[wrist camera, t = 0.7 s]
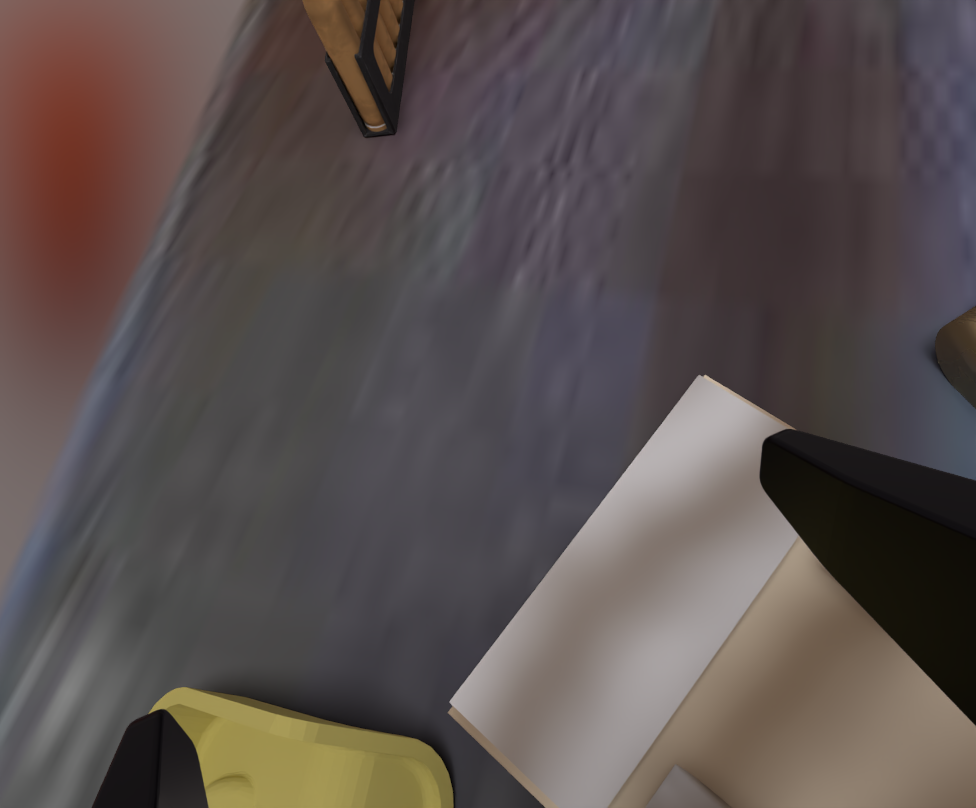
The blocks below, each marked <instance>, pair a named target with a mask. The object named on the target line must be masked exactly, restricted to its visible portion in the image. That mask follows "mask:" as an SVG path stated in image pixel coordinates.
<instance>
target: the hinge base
mask: <svg viewBox="0 0 976 808" xmlns="http://www.w3.org/2000/svg"><path fill="white" fill-rule="evenodd" d="M785 429H794V428H793V427H791V426H789V425H788V424H786V423H784V422H783V421H781V420H779V419H778V418H776V417H774V416H773V415H771V414H769V413H768V412H766V411H764V410H763V409H761V408H759V407H758V406H756V405H754V404H753V403H751V402H749V401H748V400H746V399H744V398H743V397H741V396H739V395H738V394H736V393H734V392H733V391H731V390H729V389H728V388H726V387H724V386H723V385H721V384H719V383H718V382H716V381H714V380H713V379H711V378H709V377H708V376H706V375H705V376H704V377H702V376H700V375H699V376H698V377H697V378H696V379H695V381H694V382H693V383H692V385H691V386H690V387H689V389H688V390H687V391H686V393H685V394H684V395H683V396H682V398H681V399H680V400H679V402H678V403H677V404H676V406H675V407H674V408H673V410H672V411H671V412H670V414H669V415H668V416H667V417H666V419H665V420H664V421H663V423H662V424H661V425H660V427H659V428H658V429H657V431H656V432H655V433H654V434H653V436H652V437H651V438H650V440H649V441H648V442H647V444H646V445H645V446H644V448H643V449H642V450H641V451H640V453H639V454H638V455H637V457H636V458H635V459H634V461H633V462H632V463H631V465H630V466H629V467H628V469H627V470H626V471H625V472H624V474H623V475H622V476H621V478H620V479H619V480H618V482H617V483H616V484H615V486H614V487H613V488H612V489H611V491H610V492H609V493H608V495H607V496H606V497H605V499H604V500H603V501H602V503H601V504H600V505H599V507H598V508H597V509H596V510H595V512H594V513H593V514H592V516H591V517H590V518H589V520H588V521H587V522H586V524H585V525H584V526H583V527H582V529H581V530H580V531H579V533H578V534H577V535H576V537H575V538H574V539H573V541H572V542H571V543H570V544H569V546H568V547H567V548H566V550H565V551H564V552H563V554H562V555H561V556H560V558H559V559H558V560H557V562H556V563H555V564H554V565H553V567H552V568H551V569H550V571H549V572H548V573H547V575H546V576H545V577H544V579H543V580H542V581H541V582H540V584H539V585H538V586H537V588H536V589H535V590H534V592H533V593H532V594H531V596H530V597H529V598H528V600H527V601H526V602H525V603H524V605H523V606H522V607H521V609H520V610H519V611H518V613H517V614H516V615H515V617H514V618H513V619H512V620H511V622H510V623H509V624H508V626H507V627H506V628H505V630H504V631H503V632H502V634H501V635H500V636H499V637H498V639H497V640H496V641H495V643H494V644H493V645H492V647H491V648H490V649H489V651H488V652H487V653H486V655H485V656H484V657H483V658H482V660H481V661H480V662H479V664H478V665H477V666H476V668H475V669H474V670H473V672H472V673H471V674H470V675H469V677H468V678H467V679H466V681H465V682H464V683H463V685H462V686H461V687H460V689H459V690H458V691H457V692H456V694H455V695H454V696H453V698H452V699H451V700H450V703H451V704H452V705H453V706H452V708H451V709H450V710H449V712H448V713H449V714H450V715H451V716H452V717H453V718H454V719H455V720H456V721H457V722H458V723H459V724H460V725H461V726H462V727H463V728H464V729H465V730H466V731H467V732H468V733H469V734H470V735H471V736H472V737H473V738H474V739H475V740H477V741H478V742H479V743H480V744H481V745H482V746H483V747H484V748H485V749H486V750H487V751H488V752H489V753H490V754H491V755H492V756H493V757H494V758H495V759H496V760H497V761H498V762H499V763H500V764H501V765H502V766H503V767H504V768H505V769H506V770H507V771H508V772H509V773H511V774H512V775H513V776H514V777H515V778H516V779H517V780H518V781H519V782H520V783H521V784H522V785H523V786H524V787H525V788H526V789H527V790H528V791H529V792H530V793H531V794H532V795H533V796H534V797H535V798H536V799H537V800H538V801H539V802H540V803H541V804H542V805H543V806H545V807H546V808H976V726H975V725H974V724H973V723H972V722H971V721H970V720H969V719H968V718H967V716H966V715H965V714H964V713H963V712H962V711H961V710H960V709H959V708H958V707H957V706H956V705H955V704H954V703H953V702H952V701H951V700H950V699H949V698H948V697H947V696H946V695H945V694H944V692H943V691H942V690H941V689H940V688H939V687H938V686H937V685H936V684H935V683H934V682H933V681H932V680H931V679H930V678H929V677H928V676H927V675H926V674H925V673H924V672H923V671H922V669H921V668H920V667H919V666H918V665H917V664H916V663H915V662H914V661H913V660H912V659H911V658H910V657H909V656H908V655H907V654H906V653H905V652H904V651H903V650H902V649H901V648H900V647H899V645H898V644H897V643H896V642H895V641H894V640H893V639H892V638H891V637H890V636H889V635H888V634H887V633H886V632H885V631H884V630H883V629H882V628H881V627H880V626H879V625H878V624H877V623H876V621H875V620H874V619H873V618H872V617H871V616H870V615H869V614H868V613H867V612H866V611H865V610H864V609H863V608H862V607H861V606H860V605H859V604H858V603H857V602H856V601H855V600H854V598H853V597H852V596H851V595H850V594H849V593H848V592H847V591H846V590H845V589H844V588H843V587H842V586H841V585H840V584H839V583H838V582H837V581H836V580H835V579H834V577H833V576H832V575H831V574H830V573H829V572H828V571H827V570H826V569H825V568H824V566H823V565H822V564H821V563H820V562H819V560H818V559H817V558H816V557H815V556H814V554H813V553H812V552H811V550H810V549H809V548H808V547H807V545H806V544H805V543H804V541H803V540H802V539H801V538H800V536H799V535H798V534H797V533H796V531H795V530H794V529H793V527H792V526H791V525H790V524H789V522H788V521H787V520H786V518H785V517H784V516H783V515H782V513H781V512H780V511H779V509H778V508H777V507H776V506H775V504H774V503H773V502H772V501H771V499H770V498H769V497H768V495H767V494H766V493H765V491H764V490H763V488H762V486H761V483H760V479H759V472H760V462H761V451H762V444H763V441H764V440H765V438H767V437H768V436H770V435H773V434H775V433H777V432H779V431H782V430H785ZM794 430H796V429H794Z"/></svg>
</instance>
